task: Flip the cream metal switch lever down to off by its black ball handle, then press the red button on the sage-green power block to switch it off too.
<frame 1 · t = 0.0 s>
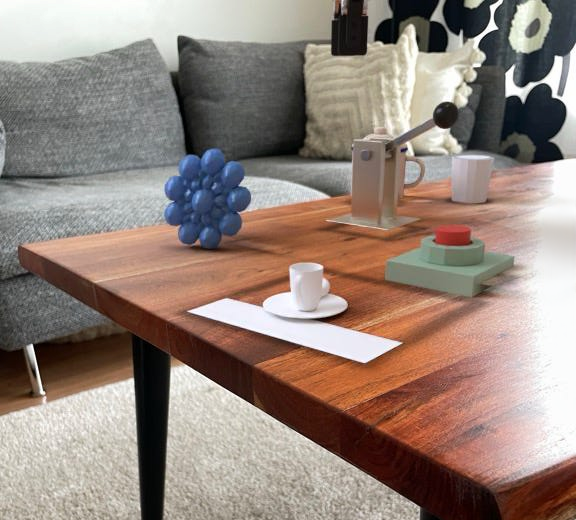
hand: (347, 55, 86), 22 cm above the table, tool pointing down, fingers open, 9 cm apart
off button: (453, 236, 76), point 4 cm above the table, slide at 0.1 cm
blue beaded flower wheel: (212, 248, 91), on the table
switch lever: (410, 134, 92), point 13 cm above the table, hinge at 28.0°
teacup with lid: (385, 203, 119), on the table
switch bracket: (373, 227, 100), on the table
power block: (449, 278, 77), on the table
teacup and saucer: (335, 308, 69), on the table
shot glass: (468, 201, 120), on the table
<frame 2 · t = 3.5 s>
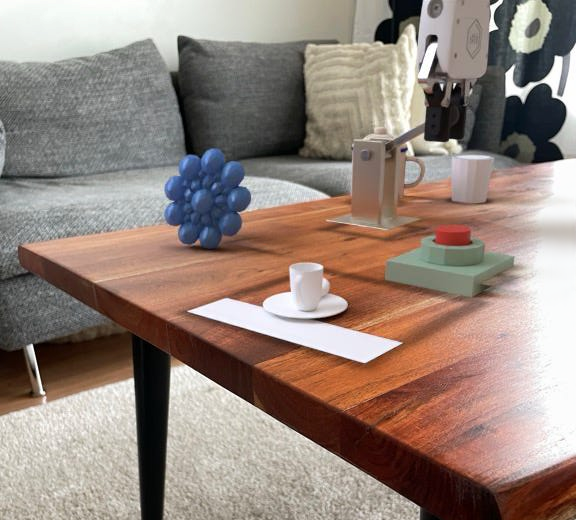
hand: (444, 138, 90), 12 cm above the table, tool pointing down, fingers closed on switch lever, 3 cm apart
switch lever: (410, 134, 92), point 13 cm above the table, hinge at 28.0°, touching gripper
everything else where it was.
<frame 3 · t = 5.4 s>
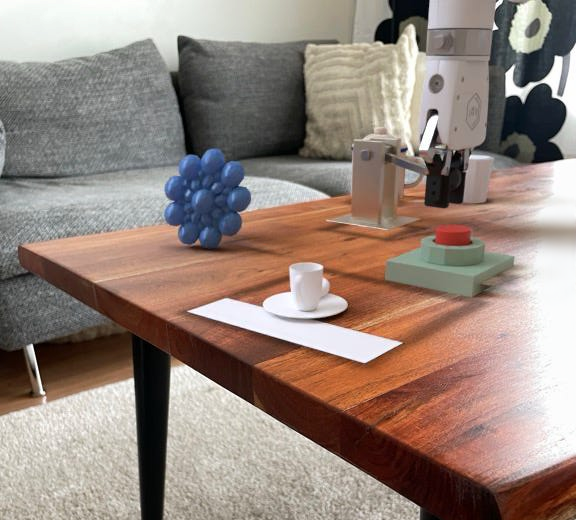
hand: (443, 203, 93), 5 cm above the table, tool pointing down, fingers closed on switch lever, 3 cm apart
switch lever: (412, 165, 94), point 9 cm above the table, hinge at -12.3°, touching gripper
everything else where it was.
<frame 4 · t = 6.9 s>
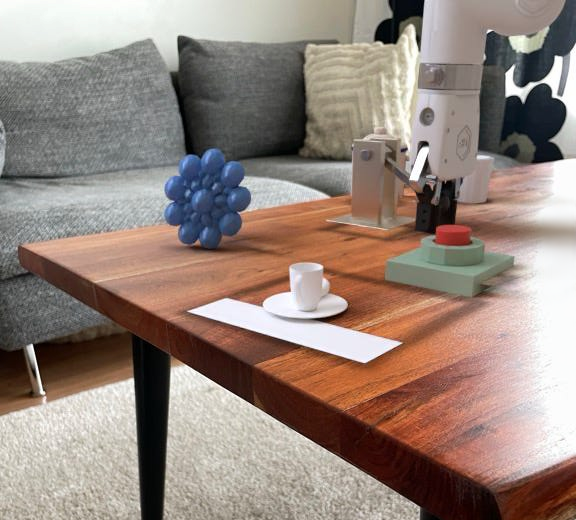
hand: (434, 230, 95), 1 cm above the table, tool pointing down, fingers open, 3 cm apart
switch lever: (407, 178, 95), point 7 cm above the table, hinge at -30.5°
everything else where it was.
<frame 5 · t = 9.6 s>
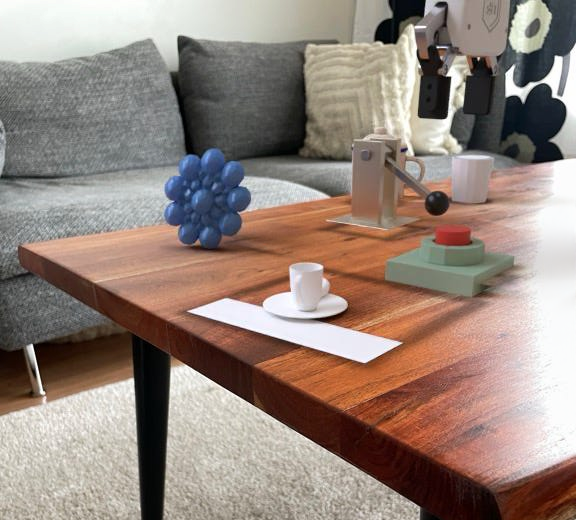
hand: (455, 116, 76), 16 cm above the table, tool pointing down, fingers open, 9 cm apart
nothing on the table moved.
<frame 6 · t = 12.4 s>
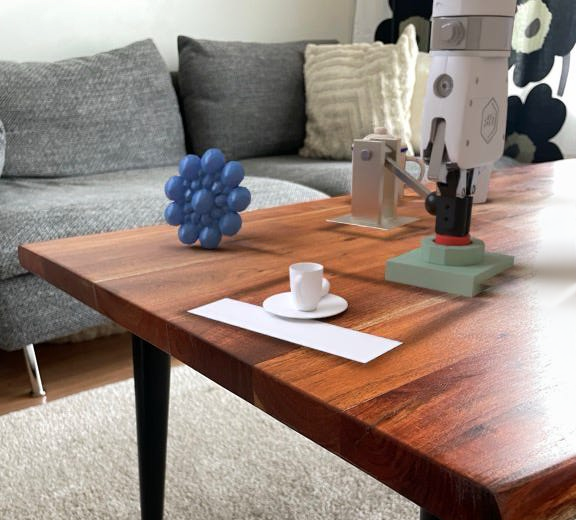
hand: (451, 234, 75), 5 cm above the table, tool pointing down, fingers closed
off button: (452, 242, 76), point 4 cm above the table, slide at -0.5 cm, touching gripper
everything else where it was.
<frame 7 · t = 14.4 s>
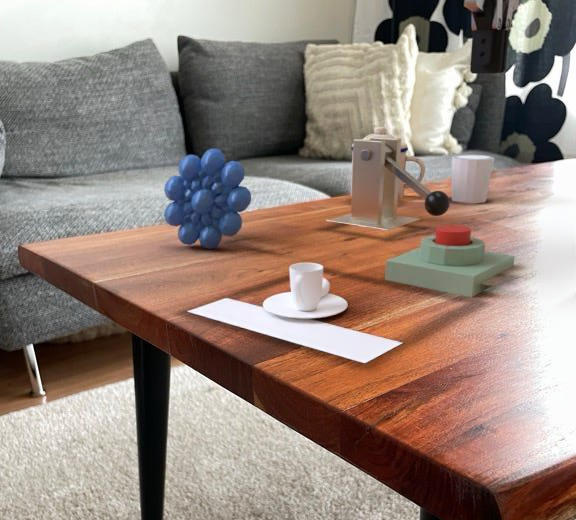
hand: (487, 72, 75), 20 cm above the table, tool pointing down, fingers closed
off button: (453, 236, 76), point 4 cm above the table, slide at 0.1 cm
everything else where it was.
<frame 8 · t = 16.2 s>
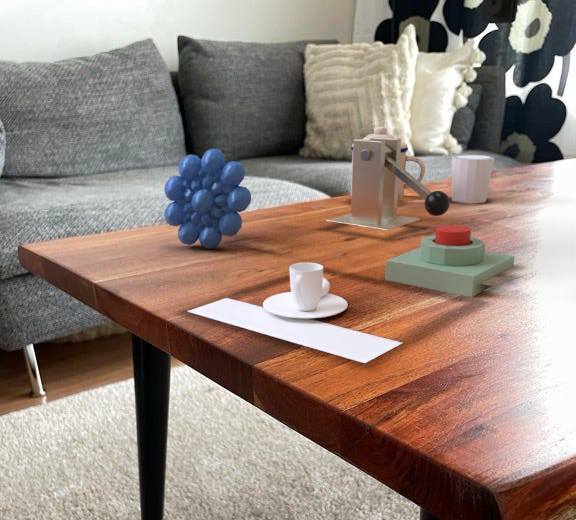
hand: (498, 22, 78), 25 cm above the table, tool pointing down, fingers closed
nothing on the table moved.
at the end: switch lever at -30° (first picture: +28°); off button pushed in 1.1 cm at the most during the clip, back to where it started at the end; off button slide at 0.1 cm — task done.
